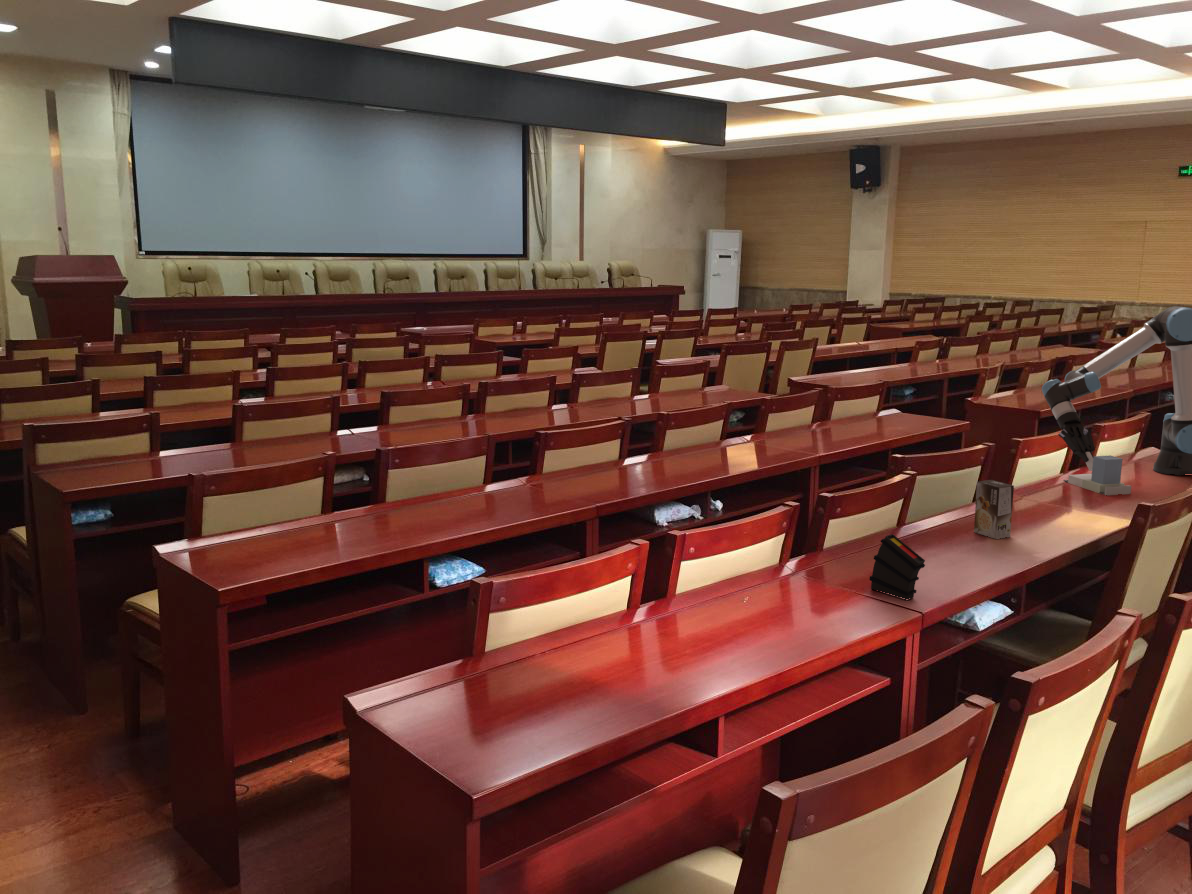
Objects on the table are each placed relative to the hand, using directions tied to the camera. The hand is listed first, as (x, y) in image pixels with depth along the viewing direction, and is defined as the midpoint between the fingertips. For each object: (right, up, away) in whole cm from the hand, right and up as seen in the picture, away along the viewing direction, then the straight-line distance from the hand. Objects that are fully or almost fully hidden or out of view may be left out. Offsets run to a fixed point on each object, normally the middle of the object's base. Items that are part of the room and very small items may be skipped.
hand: (1093, 468), depth 351 cm
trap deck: (0, -7, -1) cm, 7 cm away
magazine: (-107, -30, -110) cm, 156 cm away
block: (+1, -5, -6) cm, 7 cm away
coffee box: (-61, -19, -58) cm, 87 cm away
